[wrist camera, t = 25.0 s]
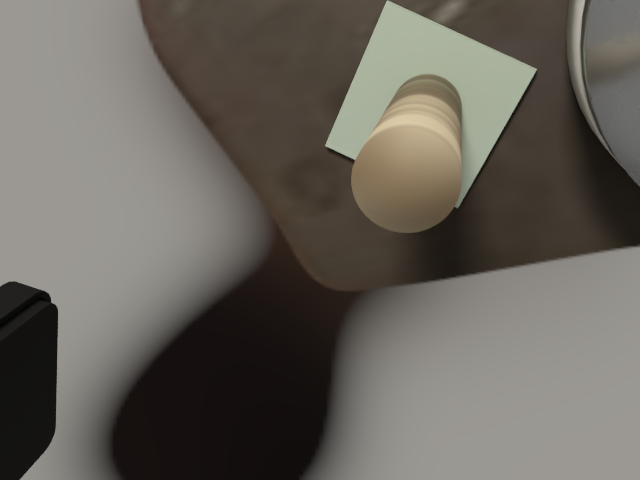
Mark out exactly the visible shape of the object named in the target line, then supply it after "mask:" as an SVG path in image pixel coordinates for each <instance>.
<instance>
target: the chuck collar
mask: <svg viewBox="0 0 640 480" xmlns="http://www.w3.org/2000/svg"><path fill="white" fill-rule="evenodd" d="M580 51H581V66H582V77H583V82H584V87H585V91H586V96H587V101H588V105H589V107H590V110H591V113H592V115H593V118H594V121H595V123H596V126H597V129H598V130H599V132H600V134H601V136H602V138H603V139H604V141H605V143H606V145H607V146H608V148H609V150H610V152H611V153H612V154H613V156H614V157H615V158H616V160H617V161H618V162H619V163H620V165H621V166H622V167H623V168H624V170H625V171H626V172H627V173H628V175H629V176H630V177H631V178H632V179H633V180H634V181H635V183H637V184H638V185H639V186H640V0H585V4H584V9H583V14H582V27H581V42H580Z"/></svg>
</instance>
